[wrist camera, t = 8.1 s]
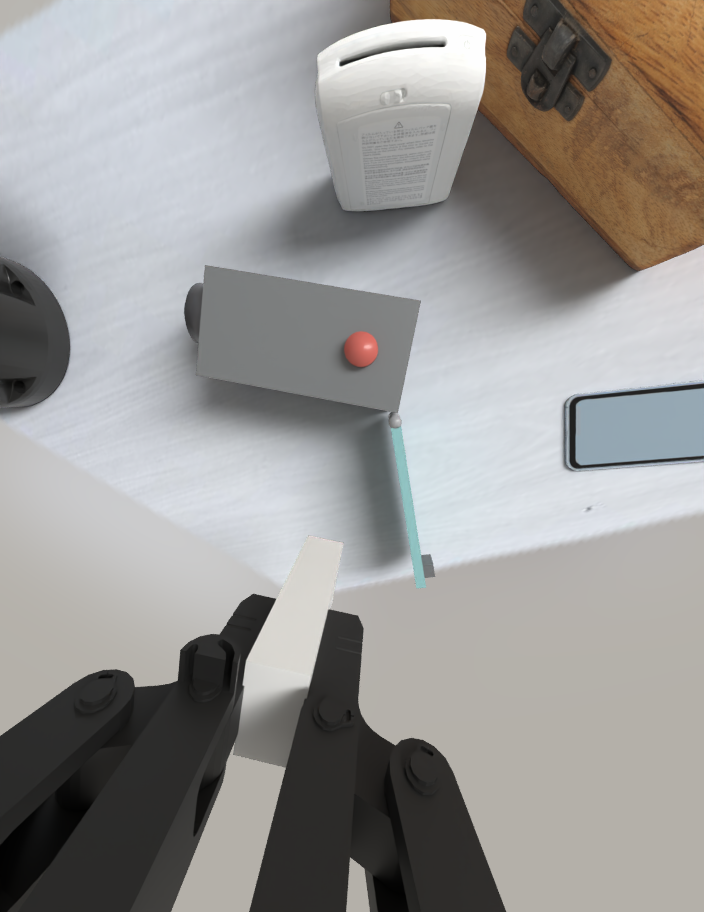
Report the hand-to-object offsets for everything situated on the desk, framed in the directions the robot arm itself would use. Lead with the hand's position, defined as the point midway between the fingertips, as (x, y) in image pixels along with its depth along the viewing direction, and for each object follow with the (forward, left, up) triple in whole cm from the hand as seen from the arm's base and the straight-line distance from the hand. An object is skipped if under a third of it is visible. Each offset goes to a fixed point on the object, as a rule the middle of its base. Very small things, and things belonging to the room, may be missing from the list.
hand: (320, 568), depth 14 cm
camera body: (-7, +10, -21) cm, 24 cm away
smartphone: (+26, +9, -22) cm, 35 cm away
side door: (+5, -1, -20) cm, 21 cm away
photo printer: (-2, +25, -21) cm, 33 cm away
